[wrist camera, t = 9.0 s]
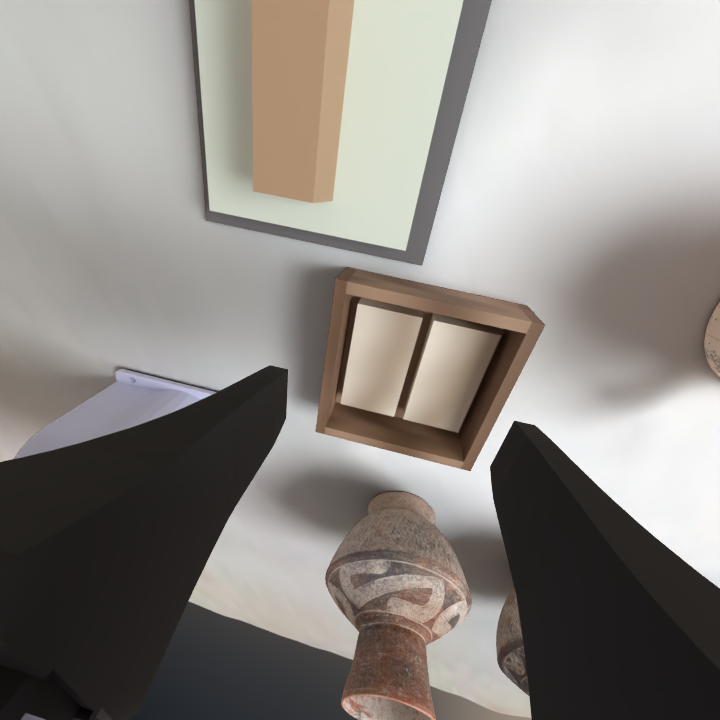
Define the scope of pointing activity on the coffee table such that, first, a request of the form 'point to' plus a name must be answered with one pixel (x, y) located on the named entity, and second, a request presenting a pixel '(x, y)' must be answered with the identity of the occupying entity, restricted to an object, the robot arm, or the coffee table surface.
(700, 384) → the coffee table surface
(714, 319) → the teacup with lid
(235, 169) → the lid
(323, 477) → the coffee table surface
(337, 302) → the tea box
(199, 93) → the mat
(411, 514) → the pottery
